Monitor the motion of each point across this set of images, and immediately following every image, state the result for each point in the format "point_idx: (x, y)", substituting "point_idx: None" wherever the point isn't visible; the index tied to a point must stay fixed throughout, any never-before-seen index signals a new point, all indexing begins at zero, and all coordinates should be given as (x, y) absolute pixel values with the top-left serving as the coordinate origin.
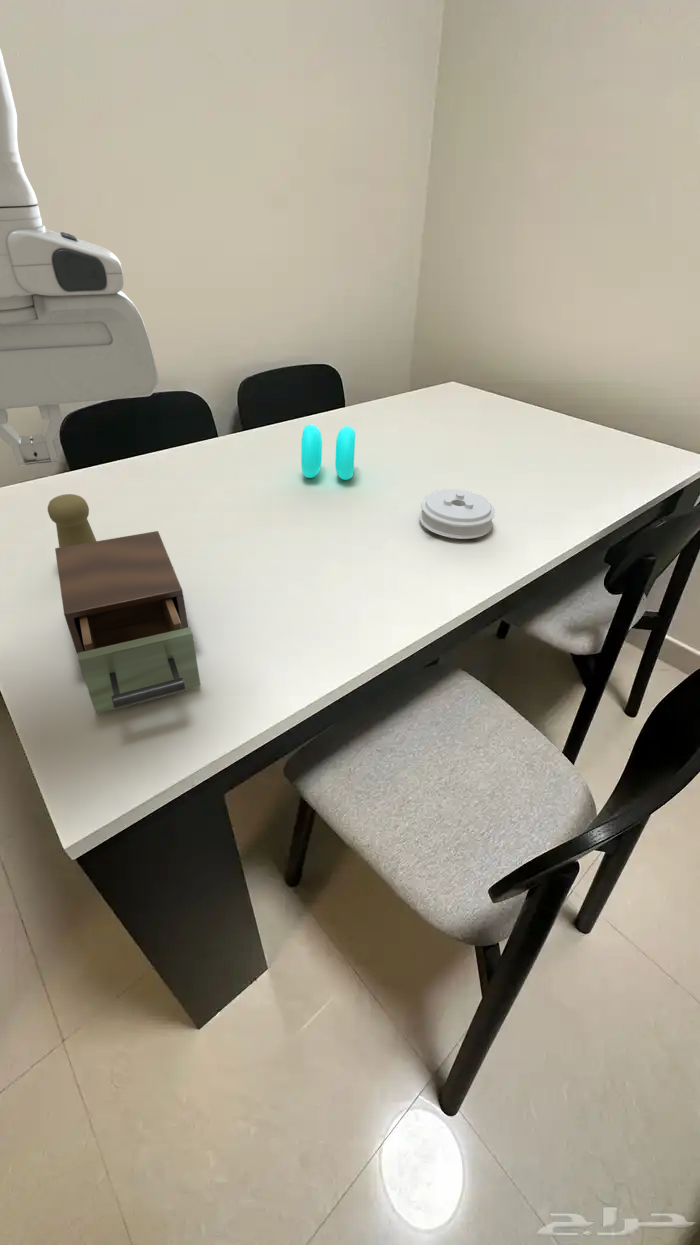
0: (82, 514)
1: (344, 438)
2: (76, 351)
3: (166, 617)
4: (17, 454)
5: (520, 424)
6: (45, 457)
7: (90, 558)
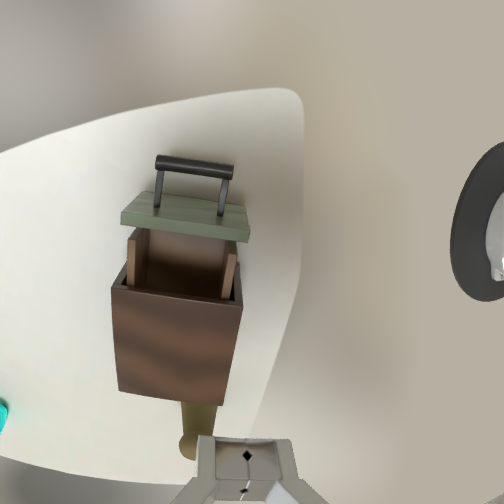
0: (186, 438)
1: None
2: None
3: (142, 285)
4: (288, 459)
5: None
6: (226, 445)
7: (193, 380)
